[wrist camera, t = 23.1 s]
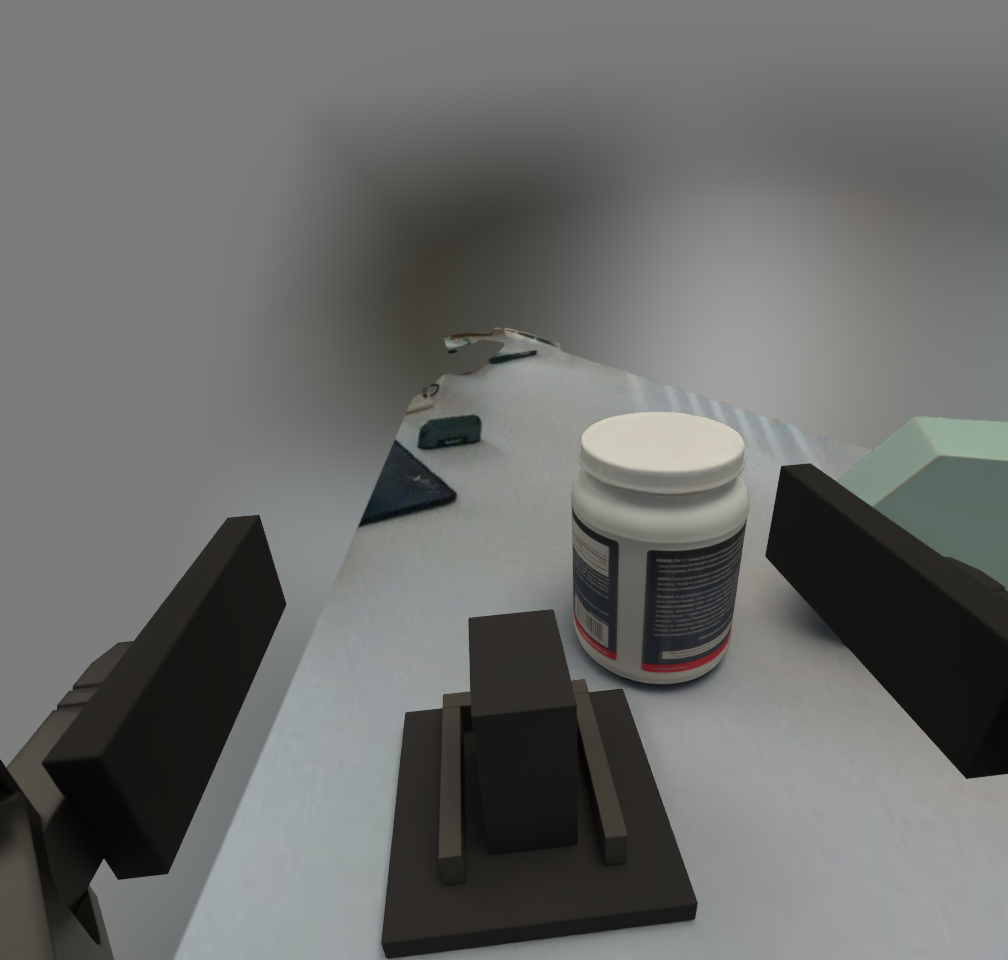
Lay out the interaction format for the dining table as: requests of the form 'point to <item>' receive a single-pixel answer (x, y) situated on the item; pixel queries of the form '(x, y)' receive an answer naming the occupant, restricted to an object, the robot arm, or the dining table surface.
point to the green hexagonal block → (944, 487)
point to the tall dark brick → (524, 731)
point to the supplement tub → (657, 543)
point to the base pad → (536, 873)
